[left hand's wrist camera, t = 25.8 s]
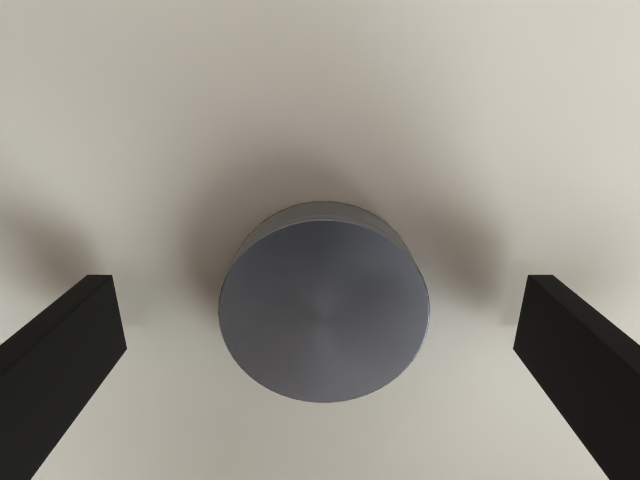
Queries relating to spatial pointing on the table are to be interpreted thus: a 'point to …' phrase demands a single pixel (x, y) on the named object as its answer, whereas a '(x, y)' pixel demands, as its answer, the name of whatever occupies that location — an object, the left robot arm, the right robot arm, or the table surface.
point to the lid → (323, 303)
